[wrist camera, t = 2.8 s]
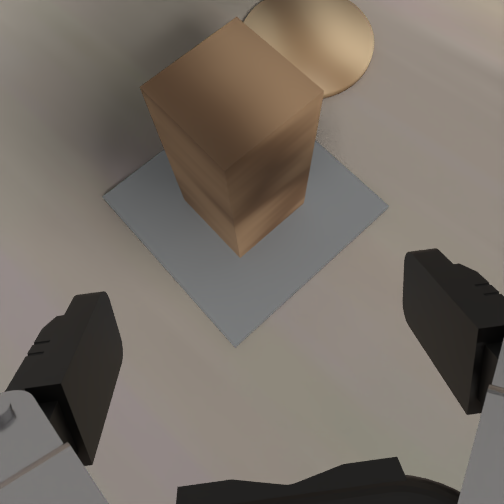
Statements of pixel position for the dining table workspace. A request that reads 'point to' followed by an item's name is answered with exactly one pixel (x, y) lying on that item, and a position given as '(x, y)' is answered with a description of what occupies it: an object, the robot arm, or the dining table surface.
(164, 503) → the dining table surface
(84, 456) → the robot arm
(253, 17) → the coaster
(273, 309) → the blue-gray tile
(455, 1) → the dining table surface
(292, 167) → the walnut block
